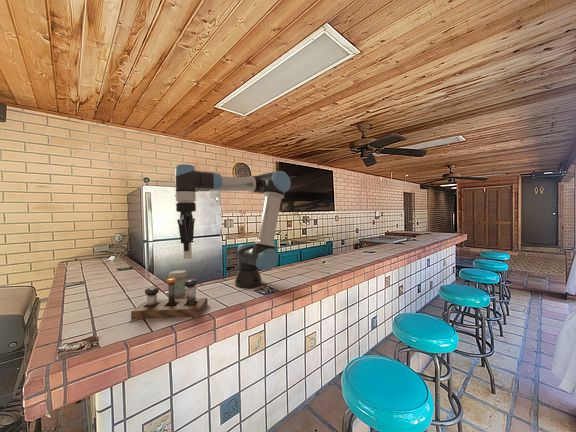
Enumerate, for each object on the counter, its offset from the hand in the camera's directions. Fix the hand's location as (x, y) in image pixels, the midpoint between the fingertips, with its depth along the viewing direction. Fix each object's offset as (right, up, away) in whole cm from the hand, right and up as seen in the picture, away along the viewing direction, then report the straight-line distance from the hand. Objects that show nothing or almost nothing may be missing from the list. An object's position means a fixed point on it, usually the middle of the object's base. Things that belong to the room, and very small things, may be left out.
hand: (187, 258), depth 99 cm
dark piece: (-7, -19, 0) cm, 20 cm away
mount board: (-7, -22, 0) cm, 23 cm away
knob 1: (-15, -22, -1) cm, 27 cm away
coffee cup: (-13, -22, +18) cm, 31 cm away
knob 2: (+1, -19, 0) cm, 19 cm away
